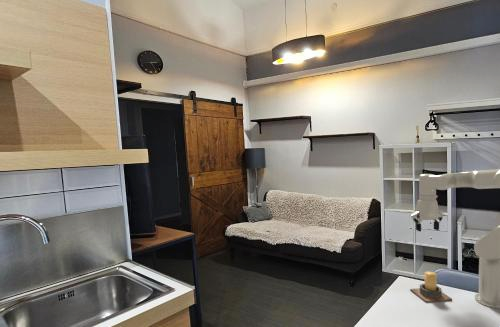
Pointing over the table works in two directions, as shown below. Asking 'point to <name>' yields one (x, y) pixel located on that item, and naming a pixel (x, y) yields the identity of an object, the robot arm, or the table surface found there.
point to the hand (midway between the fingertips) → (427, 230)
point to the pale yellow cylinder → (430, 281)
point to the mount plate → (444, 297)
